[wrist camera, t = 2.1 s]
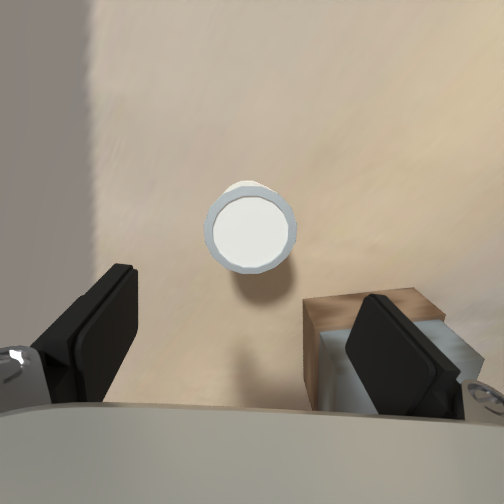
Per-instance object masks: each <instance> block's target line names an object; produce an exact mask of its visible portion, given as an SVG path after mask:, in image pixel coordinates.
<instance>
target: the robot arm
mask: <svg viewBox="0 0 504 504" xmlns="http://www.w3.org/2000/svg"><path fill="white" fill-rule="evenodd" d="M137 330H138V271H137V269H133V266H132V265H126V264H118V263H116V264H114V265H113V266H112V267H111V268H110V269H109V270H108V271H107V272H106V273H105V274H104V275H103V276H102V277H101V278H100V279H99V280H98V281H97V282H96V283H95V284H94V285H93V286H92V287H91V288H90V289H89V290H88V292H86V294H85V295H82V296H80V297H79V298H78V299H77V300H76V301H75V302H74V303H73V304H72V305H71V306H70V307H69V308H68V309H67V310H66V311H65V312H64V313H63V314H62V315H61V316H60V317H59V318H58V319H57V320H56V321H55V322H54V323H53V324H52V325H51V326H50V327H49V328H48V329H47V330H46V331H45V332H44V333H43V334H42V335H41V336H40V337H39V338H38V339H37V340H36V341H35V342H34V343H33V344H32V345H31V346H30V347H28V346H9V347H4V348H0V504H504V395H503V394H501V393H500V392H499V391H497V390H496V389H494V388H492V387H490V386H489V385H487V384H484V383H482V382H480V381H476V380H472V379H465V380H464V381H462V383H461V384H460V383H459V382H458V381H457V380H456V379H457V377H458V376H459V374H460V373H461V370H460V369H459V368H458V367H457V366H456V365H455V364H454V363H453V362H452V361H451V360H450V359H449V358H448V357H447V356H446V355H445V354H444V353H443V352H442V351H441V350H440V349H439V348H438V347H437V346H436V345H435V344H434V343H433V342H432V341H431V340H430V339H429V338H428V337H427V336H426V335H425V334H424V333H423V332H422V331H421V330H420V329H419V328H418V327H417V326H416V325H415V324H414V323H413V322H412V321H411V320H410V319H409V318H408V317H407V316H406V315H405V314H404V313H403V312H402V311H401V310H400V309H399V308H398V307H397V306H396V305H395V304H394V303H393V302H392V301H391V300H390V299H389V298H388V297H387V296H385V295H381V294H372V293H371V294H369V295H368V296H366V297H365V298H364V299H363V302H362V304H361V307H360V309H359V312H358V314H357V317H356V319H355V322H354V324H353V327H352V329H351V332H350V334H349V337H348V339H347V342H346V344H345V352H346V354H347V356H348V358H349V360H350V362H351V364H352V365H353V367H354V369H355V371H356V373H357V375H358V377H359V379H360V380H361V382H362V384H363V386H364V388H365V390H366V392H367V394H368V395H369V397H370V399H371V401H372V403H373V405H374V407H375V409H376V410H377V412H378V414H379V415H378V414H361V413H344V412H325V411H306V410H287V409H267V408H247V407H225V406H204V405H182V404H157V403H122V402H102V401H103V399H104V397H105V395H106V393H107V391H108V389H109V388H110V386H111V384H112V382H113V380H114V378H115V376H116V374H117V372H118V370H119V368H120V366H121V364H122V362H123V360H124V358H125V356H126V354H127V352H128V350H129V348H130V346H131V344H132V342H133V340H134V338H135V336H136V334H137Z"/></svg>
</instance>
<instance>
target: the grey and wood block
mask: <svg viewBox="0 0 504 504" xmlns="http://www.w3.org/2000/svg"><path fill="white" fill-rule="evenodd" d="M371 293H372V294H381V295H385V296H387V297H388V298H389V299H390V300H391V301H392V302H393V303H394V304H395V305H396V306H397V307H398V308H399V309H400V310H401V311H402V312H403V313H404V314H405V315H406V316H407V317H408V318H409V319H410V320H411V321H412V322H413V323H414V324H415V325H416V326H417V327H418V328H419V329H420V330H421V331H422V332H423V333H424V334H425V335H426V336H427V337H428V338H429V339H430V340H431V341H432V342H433V343H434V344H435V345H436V346H437V347H438V348H439V349H440V350H441V351H442V352H443V353H444V354H445V355H446V356H447V357H448V358H449V359H450V360H451V361H452V362H453V363H454V364H455V365H456V366H457V367H458V368H459V369H460V370H461V373H460V374H459V376H458V377H457V379H456V380H457V381H458V382H459V383H460V384H461V383H462V381H464V380H465V379H472V380H476V381H477V378H478V375H479V373H480V370H481V368H482V365H483V362H484V360H485V359H484V358H483V357H482V356H481V355H480V354H479V353H477V352H476V351H475V350H474V349H473V348H472V347H471V346H470V345H468V344H467V343H466V342H465V341H464V340H463V339H462V338H461V337H459V336H458V335H457V334H456V333H455V332H454V331H453V330H451V329H450V328H449V327H448V326H447V325H446V324H445V323H444V320H445V316H446V314H445V313H443V312H442V311H441V310H440V309H439V308H437V307H436V306H435V305H434V304H433V303H431V302H430V301H429V300H428V299H427V298H425V297H424V296H423V295H422V294H421V293H420V292H418V291H417V290H416V289H415V288H404V289H395V290H386V291H376V292H367V293H357V294H348V295H339V296H329V297H320V298H310V299H303V367H304V382H305V385H306V389H307V392H308V396H309V400H310V403H311V407H312V411H325V412H344V413H361V414H378V412H377V410H376V409H375V407H374V405H373V403H372V401H371V399H370V397H369V395H368V394H367V392H366V390H365V388H364V386H363V384H362V382H361V380H360V379H359V377H358V375H357V373H356V371H355V369H354V367H353V365H352V364H351V362H350V360H349V358H348V356H347V354H346V352H345V344H346V342H347V339H348V337H349V334H350V332H351V329H352V327H353V324H354V322H355V319H356V317H357V314H358V312H359V309H360V307H361V304H362V302H363V299H364V298H365V297H366V296H368V295H369V294H371ZM378 415H379V414H378Z"/></svg>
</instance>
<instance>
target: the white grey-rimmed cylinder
mask: <svg viewBox="0 0 504 504" xmlns="http://www.w3.org/2000/svg"><path fill="white" fill-rule="evenodd" d="M296 232H297V222H296V219H295V217H294V214H293V211H292V208H291V206H290V205H289V204H288V203H287V202H286V201H285V200H284V199H283V198H282V197H281V196H280V195H279V194H278V193H276V192H275V191H273V190H271V189H269V188H268V187H266V186H264V185H262V184H260V183H257V182H255V181H240V182H238V183H235V184H233V185H231V186H230V187H229V188H228V189H227V190H226V191H225V192H224V193H223V194H222V195H221V196H220V197H219V198H218V200H217V201H216V202H215V203H214V204H213V205H212V206H211V207H210V209H209V212H208V214H207V217H206V220H205V223H204V236H205V243H206V245H207V247H208V249H209V251H210V253H211V255H212V257H213V258H214V259H215V260H216V261H218V262H219V263H220V264H221V265H222V266H224V267H225V268H226V269H229V270H232V271H235V272H238V273H240V274H260V273H262V272H265V271H267V270H270V269H273V268H275V267H276V266H277V265H279V264H280V263H281V262H282V261H283V260H284V259H285V258H287V257H288V255H289V253H290V251H291V249H292V247H293V246H294V244H295V242H296Z"/></svg>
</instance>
